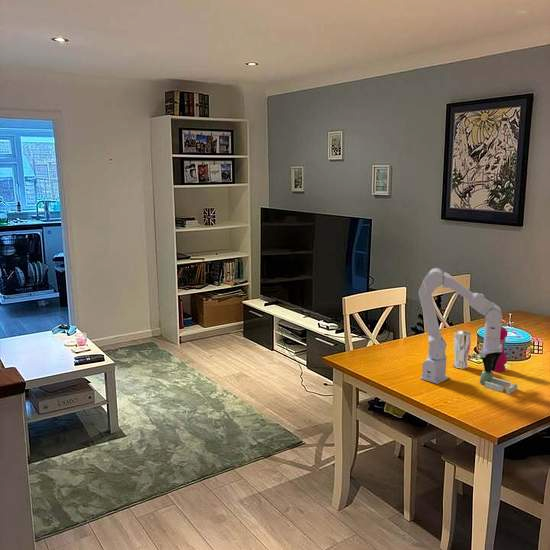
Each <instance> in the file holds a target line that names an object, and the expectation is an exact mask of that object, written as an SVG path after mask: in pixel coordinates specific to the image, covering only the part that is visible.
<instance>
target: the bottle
mask: <svg viewBox="0 0 550 550" xmlns="http://www.w3.org/2000/svg"><path fill="white" fill-rule="evenodd" d="M492 367H493V365H492ZM493 377H494V371H491V372H486V371H485V369H483V370H482V371H481V374H480V378H479V383H480V384H481V385H485V382H490V383H492V378H493Z"/></svg>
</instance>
